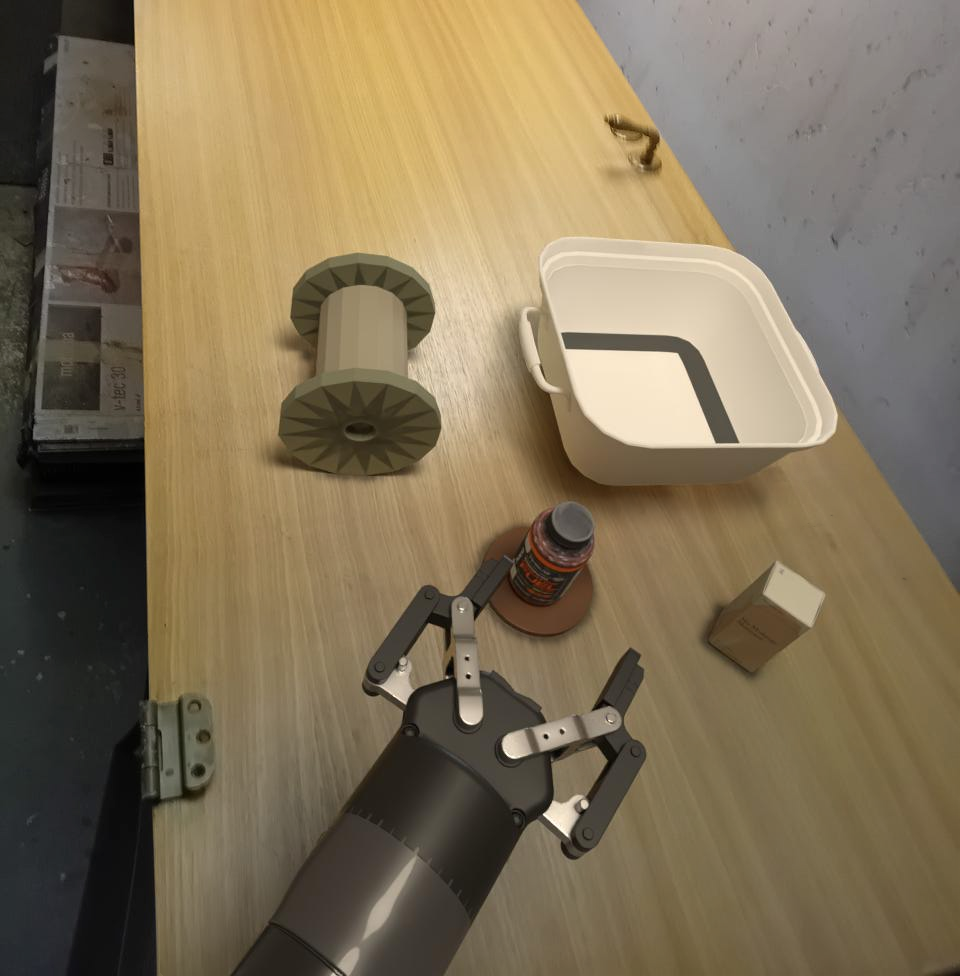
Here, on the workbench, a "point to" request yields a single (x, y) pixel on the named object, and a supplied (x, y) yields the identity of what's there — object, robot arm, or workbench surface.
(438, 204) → the workbench surface
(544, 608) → the disc
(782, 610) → the box
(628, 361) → the pot
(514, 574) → the supplement bottle
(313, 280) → the spool
